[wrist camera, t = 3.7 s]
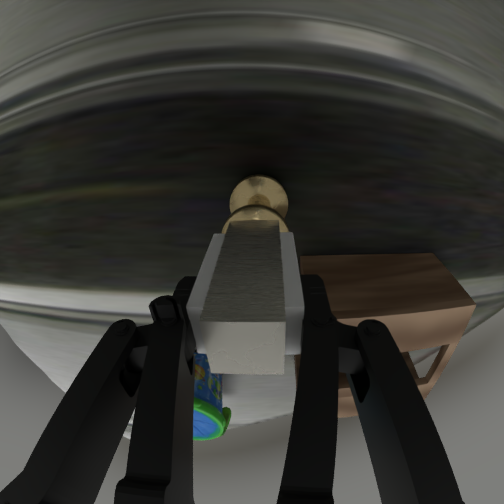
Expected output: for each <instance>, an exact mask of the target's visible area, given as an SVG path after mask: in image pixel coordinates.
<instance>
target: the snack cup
mask: <svg viewBox="0 0 504 504" xmlns="http://www.w3.org/2000/svg"><path fill="white" fill-rule="evenodd" d="M194 356H195V361H196V362H195V383H194V411H193V440H209V439H214V438H217V437H219V436H222V435H223V434H224V433H225V431H226V429H227V427H228V424H229V421H230V418H231V410H230V408H228V407H224V408H222V373H211V370H210V366H209V362H208V358H207V355H205V354H203V353H195V352H194Z"/></svg>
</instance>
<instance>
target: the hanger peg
mask: <svg viewBox="0 0 504 504" xmlns="http://www.w3.org/2000/svg"><path fill="white" fill-rule="evenodd" d="M230 210H231V213H232V214H231V215H230V216H229V217H228V219H227V220H226V222H225V225H224V227H223V230H222V234H225V237H224V241H223V244H222V247H221V250H220V253H219V256H218V260H217V263H216V266H215V269H214V273H213V276H212V279H211V282H210V286H209V289H208V292H207V296H206V299H205V302H204V306H203V309H202V312H201V316H200V319H199V324H200V328H201V333H202V337H203V341H204V346H205V350H206V354H207V358H208V362H209V366H210V370H211V373H223V374H284V357H285V333H286V315H285V298H284V282H283V268H282V254H281V240H280V232H289V229H288V225H287V223H286V221H285V219H284V218H285V216H286V214H287V210H288V199H287V194H286V191H285V189H284V188H283V186H282V185H281V184H280V183H279V182H278V181H277V180H276V179H274V178H272V177H270V176H267V175H262V174H256V175H251V176H248V177H246V178H244V179H242V180H241V181H240V182H239V183H238V184H237V185H236V186H235V188H234V190H233V192H232V195H231V198H230Z"/></svg>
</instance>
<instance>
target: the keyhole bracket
mask: <svg viewBox="0 0 504 504" xmlns="http://www.w3.org/2000/svg"><path fill="white" fill-rule="evenodd" d="M300 271H301V275H305V274H318V275H319V276H320V277H321V278H322V279H323V281H324V285H325V289H326V294H327V296H328V300H329V304H330V308H331V312H332V314H333V315H334V316H335V317H336V318H337V321H339V322H341V323H343V324H346V325H351V326H356V327H357V326H358V324H359V323H360V322H361V321H363V320H366V319H375V320H378V321H381V322H382V323H384V324H385V325H386V326H387V328H388V329H389V331H390V333H391V335H392V337H393V339H394V340H395V342H396V344H397V346H398V348H399V350H400V352H401V354H402V356H403V358H404V360H405V362H406V364H407V366H408V368H409V370H410V372H411V374H412V376H413V378H414V380H415V382H416V384H417V386H418V389H419V391H420V393H421V395H422V397H423V399H424V400H425V398H426V397H427V395H428V394H429V392H430V391H431V389H432V387H433V386H434V384H435V383H436V381H437V380H438V378H439V376H440V375H441V373H442V371H443V370H444V368H445V366H446V365H447V363H448V361H449V359H450V358H451V356H452V354H453V352H454V350H455V348H456V346H457V345H458V343H459V340H460V339H461V337H462V335H463V333H464V331H465V329H466V327H467V324H468V322H469V320H470V318H471V316H472V313H473V311H474V309H475V307H476V303H475V302H474V301H473V300H472V298H471V297H470V296H469V295H468V293H467V292H466V291H465V290H464V288H463V287H462V286H461V285H460V284H459V282H458V281H457V280H456V279H455V278H454V276H453V275H452V274H451V273H450V272H449V271H448V269H447V268H446V267H445V266H444V265H443V264H442V263H441V262H440V260H439V259H438V258H437V257H436V256H435V255H434V254H433V253H408V254H365V255H317V256H300ZM436 346H442V347H441V349H440V351H439V353H438V355H437V357H436V358H435V360H434V362H433V364H432V366H431V368H430V370H429V371H428V373H427V375H426V377H423V378H419V377H418V375H417V372H416V370H415V367H414V365H413V362H412V360H411V358H410V355H409V353H408V351H413V350H419V349H425V348H431V347H436ZM294 359H295V374H296V390H297V383H298V375H299V367H300V359H301V352H300V354H295V358H294ZM350 416H358V412H357V409H356V406H355V402H354V399H353V396H352V393H351V389H350V386H349V383H348V380H347V377H346V373H342V372H339V391H338V418H342V417H350Z"/></svg>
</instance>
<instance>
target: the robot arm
mask: <svg viewBox="0 0 504 504" xmlns="http://www.w3.org/2000/svg"><path fill="white" fill-rule="evenodd" d="M224 237H225V234H214V235H213V238H212V240H211V243H210V245H209V248H208V250H207V253H206V255H205V258H204V260H203V263H202V266H201V268H200V271H199V273H198V276H185V277H184V278H183V279H182V280H180V281H179V282H178V284H177V287H176V290H175V291H174V293H173V296H170V295H166V296H160V297H158V298H156V299H154V300H153V301H152V302H151V303H150V305H149V309H150V312H151V315H152V318H153V321H154V322H153V324H149V325H144V326H138V327H136V324H135V323H134V322H133V321H132V320H129V319H122V320H119V321H116V322H115V323H113V324H112V325H111V326H110V327H109V329H108V330H107V331H106V333H105V334H104V336H103V337H102V339H101V340H100V342H99V343H98V344H97V346H96V347H95V349H94V350H93V352H92V353H91V355H90V356H89V358H88V359H87V361H86V362H85V364H84V366H83V367H82V369H81V370H80V372H79V373H78V375H77V376H76V378H75V380H74V381H73V383H72V384H71V386H70V388H69V389H68V391H67V392H66V394H65V396H64V397H63V399H62V401H61V403H60V404H59V406H58V407H57V409H56V411H55V412H54V414H53V416H52V418H51V419H50V421H49V423H48V425H47V427H46V428H45V430H44V432H43V433H42V435H41V437H40V439H39V441H38V443H37V445H36V446H35V448H34V450H33V452H32V454H31V456H30V458H29V460H28V462H27V464H26V466H25V468H24V470H23V471H22V472H21V473H20V474H19V475H18V476H17V477H16V478H15V479H14V480H13V481H12V482H11V483H9V485H7V486H6V487H5V488H4V489H3V490H2V491H1V492H0V504H94V502H95V500H96V497H97V495H98V492H99V490H100V488H101V485H102V483H103V480H104V478H105V475H106V473H107V471H108V468H109V466H110V463H111V461H112V459H113V456H114V454H115V452H116V450H117V447H118V445H119V443H120V440H121V438H122V436H123V434H124V431H125V429H126V427H127V425H128V422H129V420H130V418H131V416H132V414H133V411H134V409H135V413H134V419H133V426H132V432H131V439H130V446H129V453H128V461H127V470H126V475H125V477H124V478H123V479H121V480H120V481H119V482H118V483H117V485H116V490H115V497H114V504H195V503H194V499H193V411H194V383H195V362H196V361H195V356H194V350H195V347H196V348H197V352H198V353H203V354H206V350H205V346H204V341H203V337H202V333H201V328H200V324H199V319H200V316H201V312H202V309H203V306H204V302H205V299H206V296H207V292H208V289H209V286H210V282H211V279H212V276H213V273H214V269H215V266H216V263H217V260H218V256H219V253H220V250H221V247H222V244H223V241H224ZM280 240H281V254H282V268H283V282H284V298H285V315H286V333H285V355H295V354H300V352H301V359H300V367H299V375H298V383H297V390H296V398H295V405H294V411H293V418H292V425H291V431H290V437H289V443H288V449H287V454H286V460H285V466H284V471H283V476H282V481H281V486H280V491H279V495H278V500H277V504H334V499H333V496H332V488H333V479H334V468H335V456H336V441H337V423H338V391H339V372H342V373H346V377H347V380H348V383H349V386H350V389H351V393H352V396H353V399H354V402H355V406H356V409H357V412H358V416H359V419H360V422H361V425H362V429H363V433H364V436H365V440H366V443H367V447H368V451H369V454H370V458H371V462H372V465H373V469H374V473H375V477H376V481H377V485H378V489H379V493H380V497H381V502H382V504H465V503H464V502H463V501H462V498H461V495H460V492H459V488H458V485H457V482H456V479H455V477H454V474H453V471H452V468H451V465H450V463H449V460H448V457H447V454H446V452H445V449H444V447H443V444H442V442H441V439H440V436H439V434H438V432H437V429H436V427H435V425H434V422H433V420H432V417H431V415H430V413H429V411H428V408H427V406H426V404H425V402H424V399H423V397H422V395H421V393H420V391H419V389H418V386H417V384H416V382H415V380H414V378H413V376H412V374H411V372H410V370H409V368H408V366H407V364H406V362H405V360H404V358H403V356H402V354H401V352H400V350H399V348H398V346H397V344H396V342H395V340H394V339H393V337H392V335H391V333H390V331H389V329H388V328H387V326H386V325H385V324H384V323H382V322H381V321H378V320H375V319H366V320H363V321H361V322H360V323H359V324H358V326H357V327H356V326H351V325H346V324H343V323H341V322H339V321H337V318H336V317H335V316H334V315H333V314H332V312H331V308H330V304H329V300H328V296H327V294H326V289H325V285H324V281H323V279H322V278H321V277H320V276H319V275H318V274H305V275H300V273H299V267H298V261H297V255H296V249H295V243H294V237H293V232H280ZM135 407H136V408H135Z"/></svg>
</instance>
